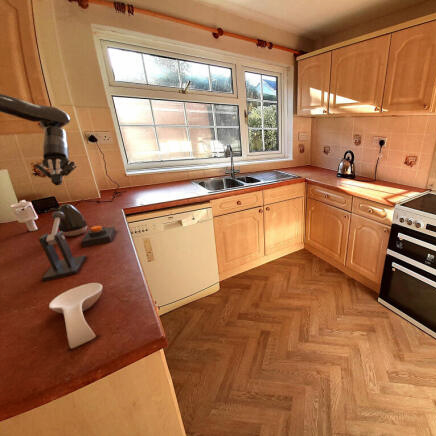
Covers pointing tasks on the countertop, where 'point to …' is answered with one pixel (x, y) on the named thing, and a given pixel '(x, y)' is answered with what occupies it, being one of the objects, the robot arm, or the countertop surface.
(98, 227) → the power button
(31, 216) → the white stemmed block
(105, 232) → the grey control base
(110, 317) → the countertop surface
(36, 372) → the countertop surface
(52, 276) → the lever bracket
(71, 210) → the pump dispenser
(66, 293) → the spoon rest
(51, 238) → the lever
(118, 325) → the countertop surface
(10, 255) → the countertop surface
